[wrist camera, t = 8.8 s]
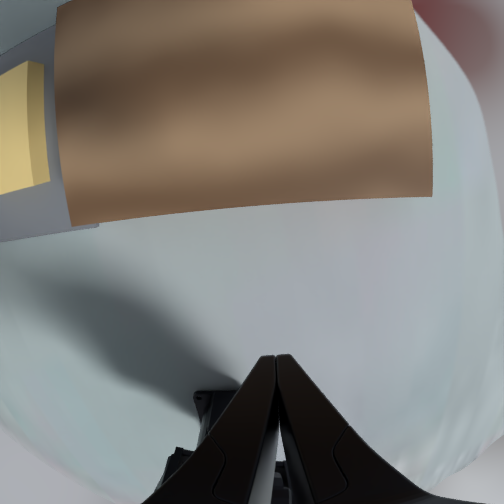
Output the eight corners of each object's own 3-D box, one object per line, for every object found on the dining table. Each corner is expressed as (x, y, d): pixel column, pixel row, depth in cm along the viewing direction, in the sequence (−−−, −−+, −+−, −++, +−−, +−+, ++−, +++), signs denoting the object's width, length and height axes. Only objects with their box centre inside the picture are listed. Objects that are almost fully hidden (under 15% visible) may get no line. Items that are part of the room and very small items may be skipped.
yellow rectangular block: (-15, 199, 17) (1, 193, 19) (33, 185, 16) (50, 181, 18) (-22, 89, 14) (-6, 89, 16) (27, 60, 13) (44, 64, 15)
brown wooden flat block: (402, 185, 18) (432, 196, 14) (102, 210, 19) (71, 226, 16) (379, -11, 14) (400, -35, 10) (87, 23, 15) (57, 7, 11)
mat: (99, 225, 20) (96, 227, 19) (-9, 242, 21) (-12, 244, 20) (82, 14, 14) (79, 13, 14) (-26, 76, 15) (-29, 76, 15)
